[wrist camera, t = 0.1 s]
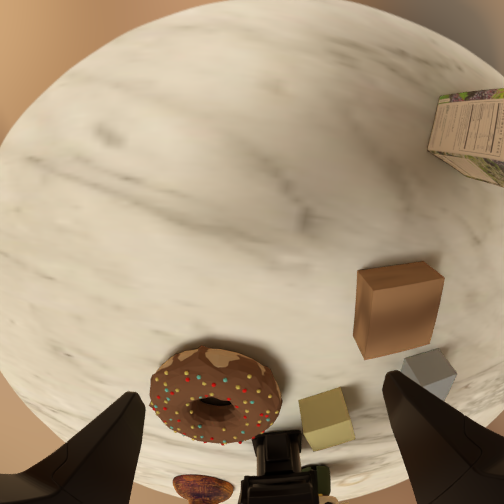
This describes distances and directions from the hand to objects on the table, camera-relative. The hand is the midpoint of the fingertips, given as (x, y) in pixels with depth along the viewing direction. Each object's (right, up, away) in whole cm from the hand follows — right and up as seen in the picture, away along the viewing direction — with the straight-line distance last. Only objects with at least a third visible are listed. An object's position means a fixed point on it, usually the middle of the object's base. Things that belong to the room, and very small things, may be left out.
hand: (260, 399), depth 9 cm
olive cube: (+8, -13, +21) cm, 26 cm away
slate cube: (+20, -9, +19) cm, 29 cm away
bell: (-10, -40, +31) cm, 51 cm away
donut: (-4, -10, +20) cm, 22 cm away
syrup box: (+18, +15, +10) cm, 26 cm away
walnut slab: (+13, +1, +16) cm, 20 cm away
